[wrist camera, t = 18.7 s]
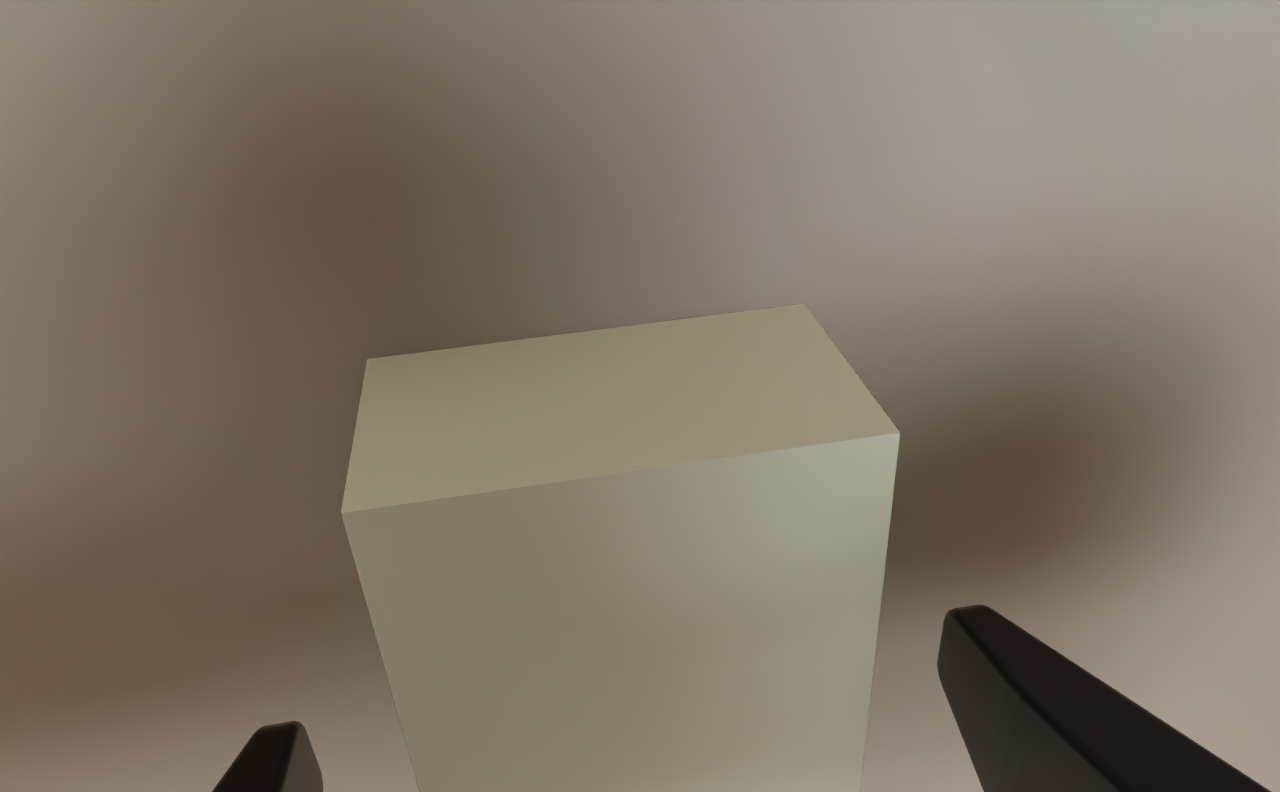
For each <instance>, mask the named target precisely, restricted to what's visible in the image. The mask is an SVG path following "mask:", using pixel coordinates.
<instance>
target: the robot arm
mask: <svg viewBox="0 0 1280 792" xmlns="http://www.w3.org/2000/svg"><path fill="white" fill-rule="evenodd" d="M937 665H938V673H939V678H940V681H941V684H942V687H943V689H944V692H945V694H946V697H947V699H948V702H949V704H950V707H951V709H952V712H953V714H954V717H955V720H956V722H957V725H958V727H959V730H960V732H961V735H962V737H963V740H964V742H965V745H966V747H967V750H968V753H969V755H970V758H971V760H972V763H973V765H974V768H975V770H976V773H977V775H978V778H979V780H980V783H981V786H982V788H983V791H984V792H1271V791H1269V790H1268V789H1266V788H1265V787H1263V786H1262V785H1260V784H1259V783H1257V782H1256V781H1254V780H1253V779H1251V778H1250V777H1248V776H1246V775H1245V774H1243V773H1242V772H1240V771H1239V770H1237V769H1236V768H1234V767H1233V766H1231V765H1230V764H1228V763H1227V762H1225V761H1224V760H1222V759H1220V758H1219V757H1217V756H1216V755H1214V754H1213V753H1211V752H1210V751H1208V750H1207V749H1205V748H1204V747H1202V746H1201V745H1199V744H1198V743H1196V742H1194V741H1193V740H1191V739H1190V738H1188V737H1187V736H1185V735H1184V734H1182V733H1181V732H1179V731H1178V730H1176V729H1175V728H1173V727H1172V726H1170V725H1168V724H1167V723H1165V722H1164V721H1162V720H1161V719H1159V718H1158V717H1156V716H1155V715H1153V714H1152V713H1150V712H1149V711H1147V710H1146V709H1144V708H1142V707H1141V706H1139V705H1138V704H1136V703H1135V702H1133V701H1132V700H1130V699H1129V698H1127V697H1126V696H1124V695H1123V694H1121V693H1120V692H1118V691H1116V690H1115V689H1113V688H1112V687H1110V686H1109V685H1107V684H1106V683H1104V682H1103V681H1101V680H1100V679H1098V678H1097V677H1095V676H1094V675H1092V674H1090V673H1089V672H1087V671H1086V670H1084V669H1083V668H1081V667H1080V666H1078V665H1077V664H1075V663H1074V662H1072V661H1071V660H1069V659H1067V658H1066V657H1064V656H1063V655H1061V654H1060V653H1058V652H1057V651H1055V650H1054V649H1052V648H1051V647H1049V646H1048V645H1046V644H1045V643H1043V642H1041V641H1040V640H1038V639H1037V638H1035V637H1034V636H1032V635H1031V634H1029V633H1028V632H1026V631H1025V630H1023V629H1022V628H1020V627H1019V626H1017V625H1015V624H1014V623H1012V622H1011V621H1009V620H1008V619H1006V618H1005V617H1003V616H1002V615H1000V614H999V613H997V612H996V611H994V610H993V609H991V608H989V607H987V606H984V605H972V606H966V607H960V608H955V609H951V610H949V611H948V612H947V614H946V615H945V618H944V623H943V629H942V635H941V641H940V647H939V654H938V662H937ZM212 792H323V782H322V775H321V771H320V768H319V765H318V762H317V759H316V757H315V754H314V751H313V748H312V746H311V743H310V740H309V737H308V735H307V732H306V730H305V727H304V726H303V725H302V724H301V723H300V722H298V721H291V722H285V723H279V724H273V725H267V726H264V727H261V728H260V729H258V730H257V731H256V732H255V733H254V734H253V736H252V737H251V738H250V740H249V741H248V742H247V744H246V745H245V747H244V748H243V749H242V751H241V752H240V754H239V755H238V756H237V758H236V759H235V760H234V762H233V763H232V765H231V766H230V767H229V769H228V770H227V772H226V773H225V774H224V776H223V777H222V779H221V780H220V781H219V783H218V784H217V785H216V787H215V788H214V790H213V791H212Z"/></svg>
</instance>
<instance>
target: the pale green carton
mask: <svg viewBox="0 0 1280 792" xmlns="http://www.w3.org/2000/svg"><path fill="white" fill-rule="evenodd" d="M899 439H900V432H899V430H898V429H897V428H896V426H895V425H894V424H893V422H892V421H891V420H890V418H889V417H888V416H887V414H886V413H885V412H884V410H883V409H882V408H881V406H880V405H879V404H878V402H877V401H876V400H875V398H874V397H873V395H872V394H871V393H870V391H869V390H868V389H867V387H866V386H865V385H864V383H863V382H862V381H861V379H860V378H859V377H858V375H857V374H856V373H855V371H854V370H853V369H852V367H851V366H850V365H849V363H848V362H847V360H846V359H845V358H844V356H843V355H842V354H841V352H840V351H839V350H838V348H837V347H836V346H835V344H834V343H833V342H832V340H831V339H830V338H829V336H828V335H827V334H826V332H825V331H824V330H823V328H822V327H821V325H820V324H819V323H818V321H817V320H816V319H815V317H814V316H813V315H812V313H811V312H810V311H809V309H808V308H807V307H806V305H805V304H804V303H803V304H795V305H787V306H780V307H772V308H764V309H756V310H748V311H740V312H732V313H725V314H717V315H709V316H701V317H693V318H685V319H677V320H670V321H662V322H654V323H646V324H638V325H630V326H623V327H615V328H607V329H599V330H591V331H583V332H575V333H568V334H560V335H552V336H544V337H536V338H528V339H520V340H513V341H505V342H497V343H489V344H481V345H473V346H465V347H458V348H450V349H442V350H434V351H426V352H418V353H410V354H403V355H395V356H387V357H379V358H371V359H367V362H366V368H365V374H364V380H363V386H362V392H361V397H360V403H359V409H358V415H357V421H356V427H355V432H354V438H353V444H352V450H351V456H350V462H349V467H348V473H347V479H346V485H345V491H344V497H343V502H342V508H341V516H342V519H343V523H344V527H345V530H346V534H347V537H348V541H349V544H350V548H351V551H352V555H353V558H354V562H355V565H356V569H357V572H358V576H359V580H360V583H361V587H362V590H363V594H364V597H365V601H366V604H367V608H368V611H369V615H370V618H371V622H372V625H373V629H374V633H375V636H376V640H377V643H378V647H379V650H380V654H381V657H382V661H383V664H384V668H385V671H386V675H387V678H388V682H389V686H390V689H391V693H392V696H393V700H394V703H395V707H396V710H397V714H398V717H399V721H400V724H401V728H402V731H403V735H404V739H405V742H406V746H407V749H408V753H409V756H410V760H411V763H412V767H413V770H414V774H415V777H416V781H417V784H418V788H419V792H860V786H861V777H862V768H863V759H864V750H865V741H866V732H867V723H868V714H869V706H870V697H871V688H872V679H873V670H874V661H875V652H876V643H877V634H878V625H879V617H880V608H881V599H882V590H883V581H884V572H885V563H886V554H887V545H888V537H889V528H890V519H891V510H892V501H893V492H894V483H895V474H896V465H897V457H898V448H899Z"/></svg>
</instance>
